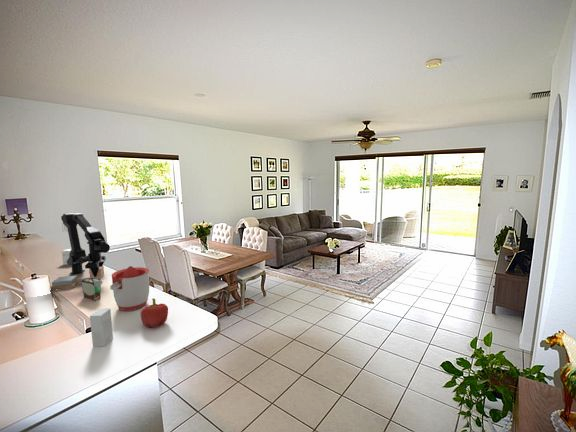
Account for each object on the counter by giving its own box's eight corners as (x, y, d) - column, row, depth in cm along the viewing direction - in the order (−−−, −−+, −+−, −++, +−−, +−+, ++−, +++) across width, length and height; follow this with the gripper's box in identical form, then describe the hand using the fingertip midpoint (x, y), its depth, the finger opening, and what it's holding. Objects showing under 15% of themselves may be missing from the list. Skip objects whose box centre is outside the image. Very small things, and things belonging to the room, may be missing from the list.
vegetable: (141, 321, 119) (139, 299, 118) (167, 316, 124) (166, 294, 123) (141, 333, 109) (140, 309, 108) (170, 327, 114) (168, 304, 113)
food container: (108, 297, 144) (107, 278, 142) (96, 301, 138) (94, 282, 137) (94, 293, 149) (92, 275, 148) (81, 297, 143) (80, 278, 142)
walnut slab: (58, 284, 162) (58, 280, 162) (81, 282, 166) (80, 278, 166) (49, 291, 152) (49, 287, 152) (73, 289, 156) (73, 285, 155)
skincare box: (101, 337, 106) (99, 308, 105) (113, 337, 107) (111, 307, 105) (91, 347, 100) (89, 315, 99) (104, 346, 101) (101, 315, 99)
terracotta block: (93, 275, 176) (92, 266, 175) (104, 274, 178) (103, 265, 177) (89, 279, 170) (89, 269, 170) (101, 278, 172) (100, 268, 172)
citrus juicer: (102, 311, 128) (99, 269, 125) (135, 297, 144) (133, 260, 141) (126, 317, 122) (123, 274, 120) (158, 302, 138) (155, 263, 136)
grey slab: (59, 281, 161) (59, 277, 161) (77, 279, 164) (77, 275, 164) (52, 286, 153) (51, 282, 153) (71, 284, 156) (71, 280, 156)
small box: (79, 262, 204) (78, 248, 203) (72, 265, 199) (71, 250, 197) (69, 262, 205) (68, 248, 204) (62, 264, 199) (61, 250, 198)
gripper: (85, 248, 178) (87, 271, 180) (73, 255, 161) (76, 281, 163) (105, 247, 182) (106, 270, 184) (95, 254, 164) (98, 279, 166)
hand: (97, 275), depth 174 cm, fingers closed on terracotta block, 6 cm apart
